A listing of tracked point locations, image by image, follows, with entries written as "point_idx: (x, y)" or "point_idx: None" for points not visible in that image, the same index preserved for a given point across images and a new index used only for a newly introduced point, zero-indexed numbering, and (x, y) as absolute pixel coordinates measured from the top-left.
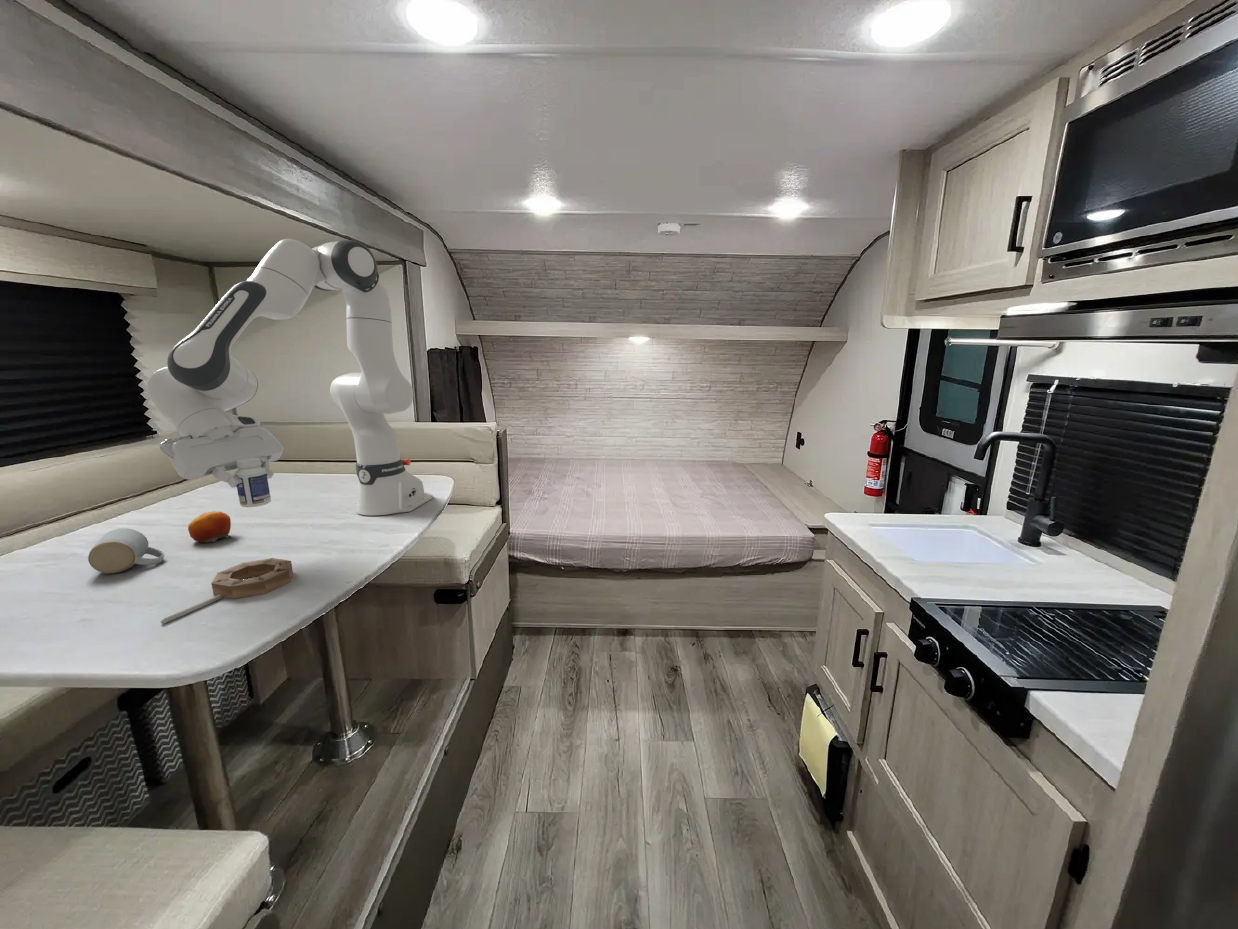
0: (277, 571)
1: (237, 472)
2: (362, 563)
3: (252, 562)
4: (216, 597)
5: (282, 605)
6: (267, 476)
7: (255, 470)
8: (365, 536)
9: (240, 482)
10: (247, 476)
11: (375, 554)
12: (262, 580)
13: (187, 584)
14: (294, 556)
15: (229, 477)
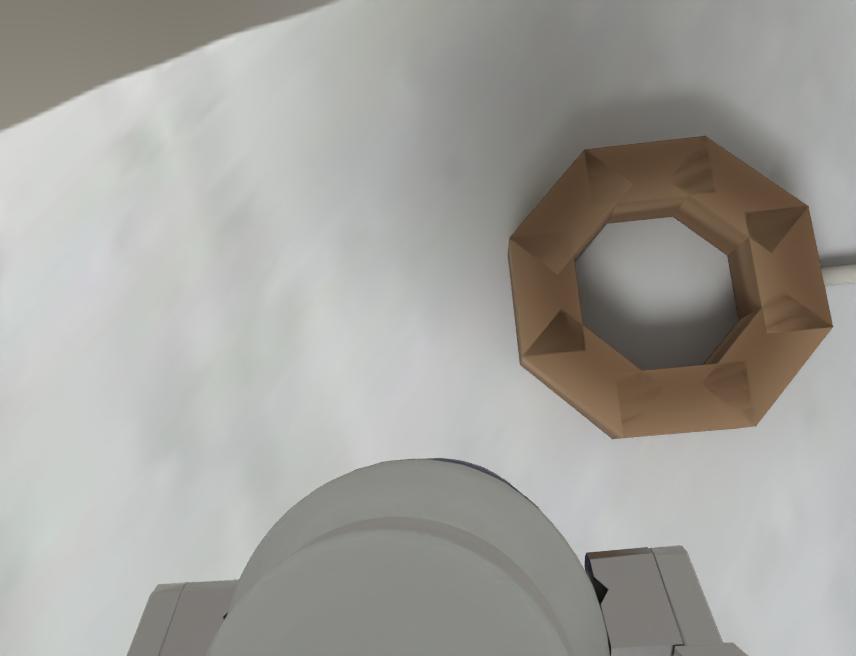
0: (617, 177)
1: None
2: (328, 70)
3: (600, 394)
4: (830, 267)
5: (721, 14)
6: None
7: (424, 506)
8: (60, 332)
9: (612, 551)
10: (542, 516)
11: (232, 100)
12: (706, 146)
13: (800, 583)
14: (376, 426)
15: (727, 650)
